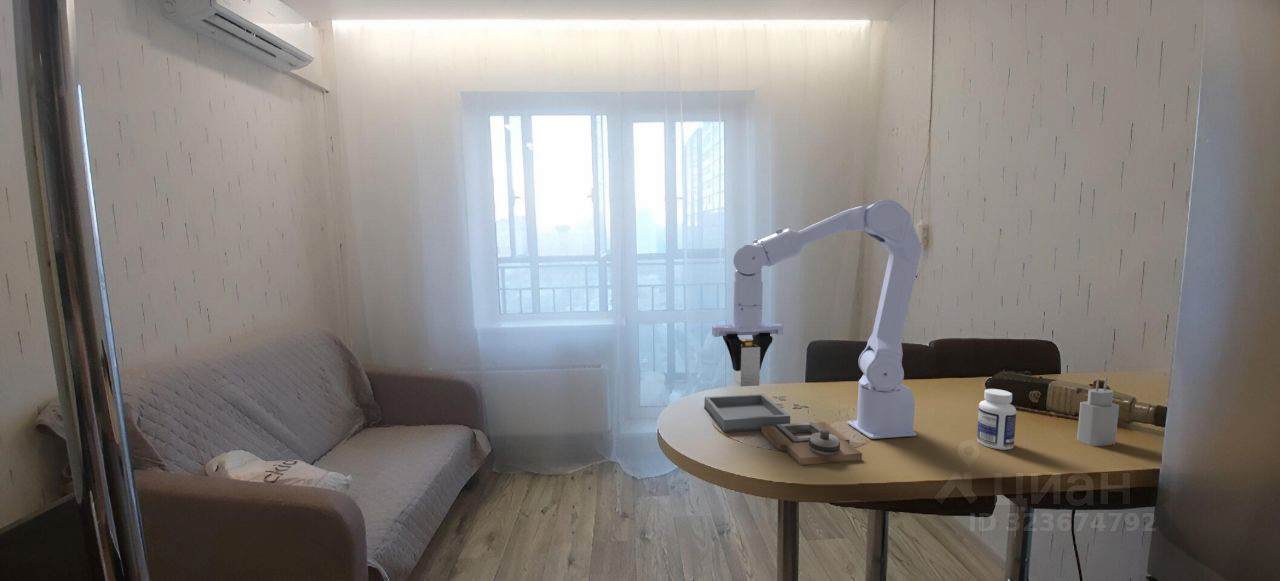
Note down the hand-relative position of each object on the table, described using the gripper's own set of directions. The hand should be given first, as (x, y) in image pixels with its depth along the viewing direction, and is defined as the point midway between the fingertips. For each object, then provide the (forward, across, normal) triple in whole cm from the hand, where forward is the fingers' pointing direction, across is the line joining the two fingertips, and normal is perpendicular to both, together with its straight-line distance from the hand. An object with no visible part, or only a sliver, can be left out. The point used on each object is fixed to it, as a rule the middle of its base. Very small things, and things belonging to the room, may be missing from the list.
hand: (746, 369), depth 97 cm
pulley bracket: (+10, -7, +14) cm, 19 cm away
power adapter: (+11, -59, +21) cm, 64 cm away
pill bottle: (+11, -40, +19) cm, 46 cm away
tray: (+10, 0, 0) cm, 10 cm away
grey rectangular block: (+3, 0, 0) cm, 3 cm away
